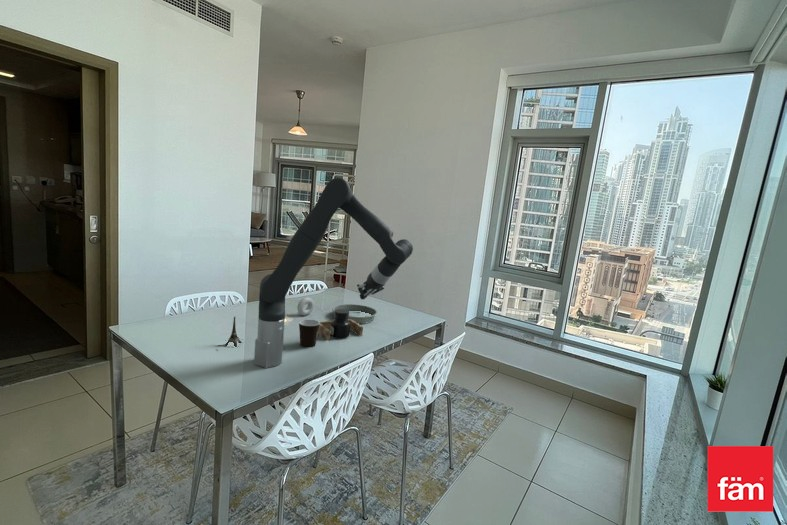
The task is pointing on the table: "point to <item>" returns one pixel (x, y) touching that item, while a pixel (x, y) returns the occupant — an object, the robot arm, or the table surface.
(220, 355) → the table surface
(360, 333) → the corral
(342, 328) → the ink bottle
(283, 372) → the table surface
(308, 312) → the donut
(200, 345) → the table surface
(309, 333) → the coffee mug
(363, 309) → the cake pan
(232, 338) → the eiffel tower figurine
